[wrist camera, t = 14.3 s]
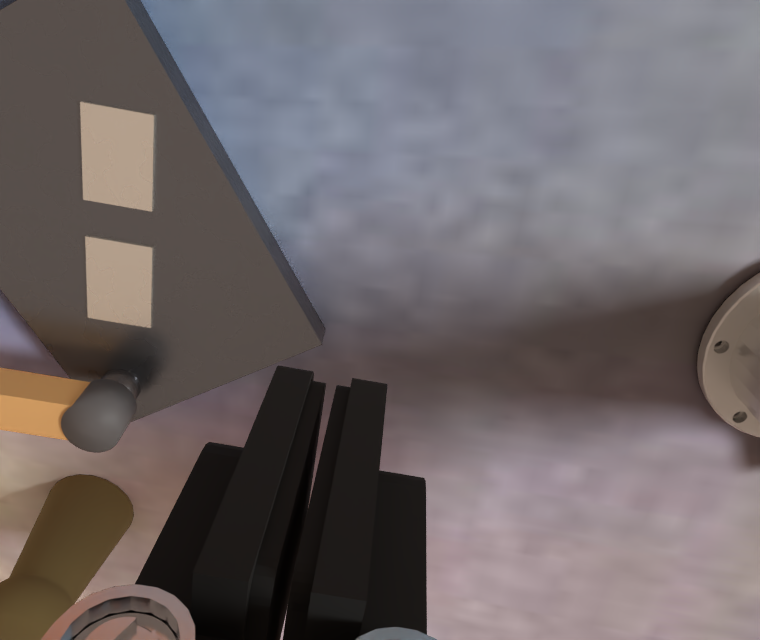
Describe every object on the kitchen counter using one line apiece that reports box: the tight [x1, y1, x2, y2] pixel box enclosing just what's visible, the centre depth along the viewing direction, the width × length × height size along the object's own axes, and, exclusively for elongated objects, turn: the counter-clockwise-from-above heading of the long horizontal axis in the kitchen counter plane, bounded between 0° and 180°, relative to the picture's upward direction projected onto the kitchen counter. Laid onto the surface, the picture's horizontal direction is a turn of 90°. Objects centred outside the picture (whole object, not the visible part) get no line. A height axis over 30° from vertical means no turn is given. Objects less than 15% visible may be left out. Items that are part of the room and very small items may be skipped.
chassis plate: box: [0, 0, 325, 422], centre depth 35 cm, size 22×15×4 cm
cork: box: [0, 475, 134, 640], centre depth 42 cm, size 6×6×11 cm
